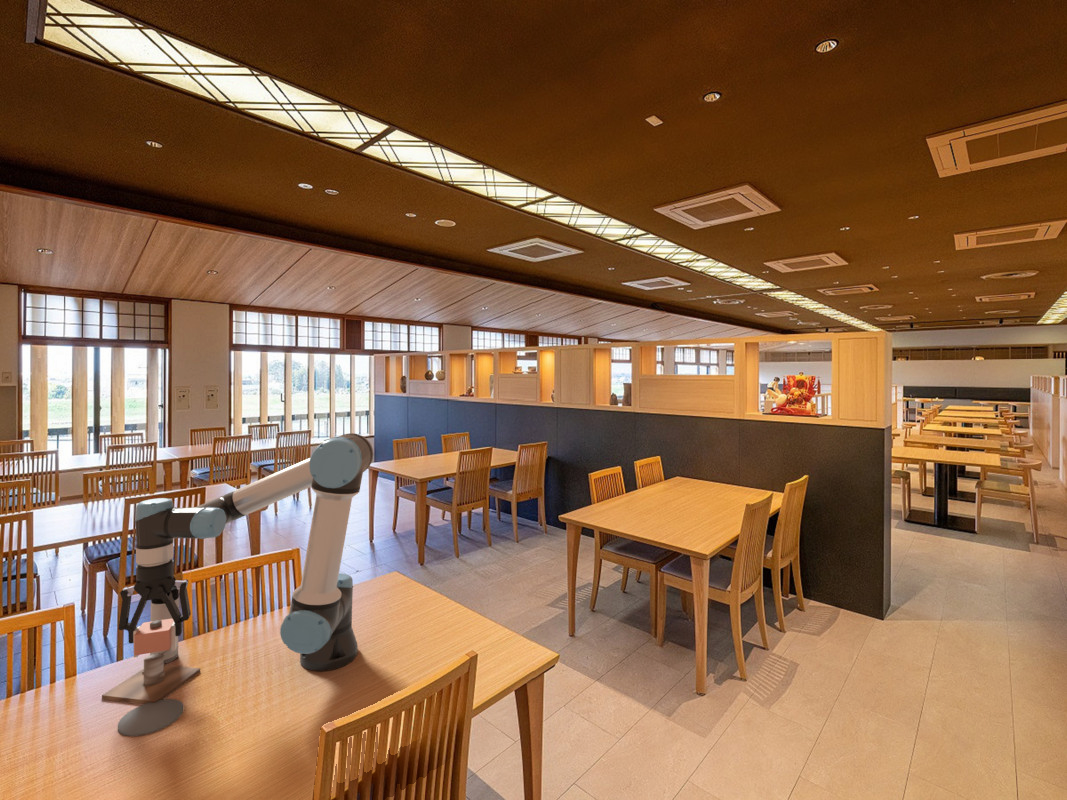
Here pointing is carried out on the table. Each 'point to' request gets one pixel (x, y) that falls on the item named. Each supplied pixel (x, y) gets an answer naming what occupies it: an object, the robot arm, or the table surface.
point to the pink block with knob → (153, 637)
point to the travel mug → (162, 613)
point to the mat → (150, 717)
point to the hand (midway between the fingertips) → (156, 651)
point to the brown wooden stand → (151, 682)
